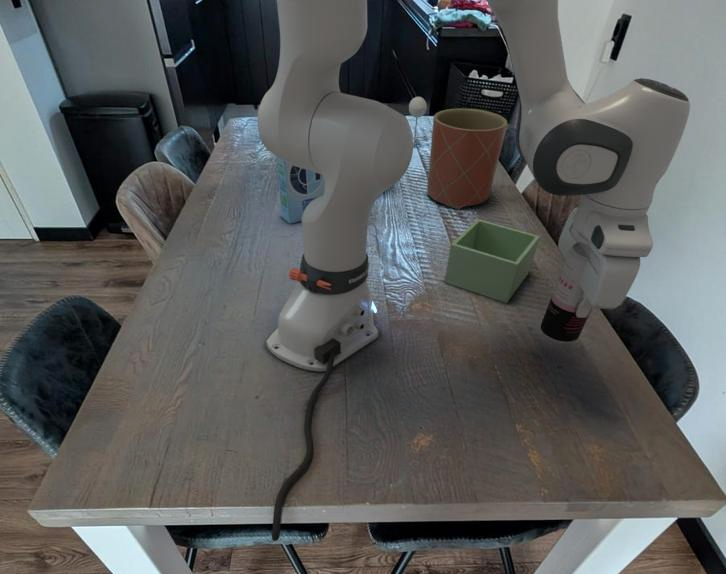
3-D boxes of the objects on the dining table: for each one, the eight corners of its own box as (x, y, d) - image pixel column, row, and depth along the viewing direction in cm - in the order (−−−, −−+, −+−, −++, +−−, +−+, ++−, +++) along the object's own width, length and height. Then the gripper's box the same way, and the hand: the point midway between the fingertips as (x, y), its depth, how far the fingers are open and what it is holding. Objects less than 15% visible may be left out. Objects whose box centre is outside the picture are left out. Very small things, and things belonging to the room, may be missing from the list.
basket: (506, 303, 101) (517, 264, 94) (444, 282, 106) (450, 244, 99) (528, 273, 109) (540, 236, 103) (470, 255, 114) (477, 218, 108)
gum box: (343, 201, 134) (342, 108, 117) (352, 208, 131) (353, 113, 114) (280, 217, 126) (270, 119, 109) (289, 225, 123) (280, 125, 106)
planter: (457, 179, 147) (470, 104, 132) (504, 200, 137) (523, 122, 122) (411, 192, 139) (418, 114, 124) (456, 216, 129) (470, 135, 114)
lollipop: (402, 145, 167) (406, 95, 156) (416, 143, 169) (421, 93, 158) (410, 150, 163) (415, 100, 152) (425, 148, 165) (431, 98, 154)
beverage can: (570, 322, 85) (605, 241, 74) (584, 344, 80) (623, 262, 69) (534, 321, 84) (565, 240, 74) (546, 343, 80) (580, 260, 69)
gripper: (566, 189, 75) (538, 269, 85) (610, 249, 61) (571, 337, 70) (605, 191, 75) (573, 271, 85) (659, 252, 61) (613, 339, 71)
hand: (572, 301), depth 78 cm, fingers closed on beverage can, 6 cm apart
